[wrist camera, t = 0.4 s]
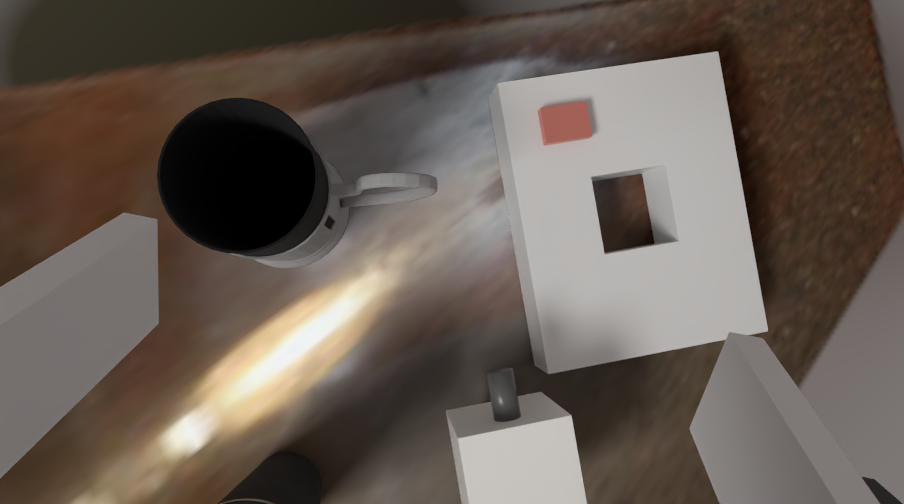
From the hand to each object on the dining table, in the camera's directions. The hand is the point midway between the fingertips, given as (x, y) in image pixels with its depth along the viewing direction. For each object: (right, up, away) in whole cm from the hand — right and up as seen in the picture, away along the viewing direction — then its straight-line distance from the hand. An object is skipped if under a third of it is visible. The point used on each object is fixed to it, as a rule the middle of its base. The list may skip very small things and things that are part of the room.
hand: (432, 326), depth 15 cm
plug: (+3, -11, +32) cm, 34 cm away
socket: (+13, +5, +33) cm, 36 cm away
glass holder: (-9, +5, +31) cm, 33 cm away
